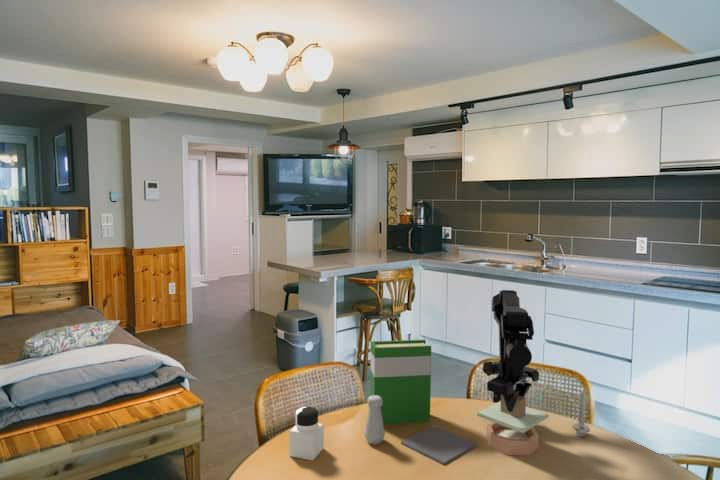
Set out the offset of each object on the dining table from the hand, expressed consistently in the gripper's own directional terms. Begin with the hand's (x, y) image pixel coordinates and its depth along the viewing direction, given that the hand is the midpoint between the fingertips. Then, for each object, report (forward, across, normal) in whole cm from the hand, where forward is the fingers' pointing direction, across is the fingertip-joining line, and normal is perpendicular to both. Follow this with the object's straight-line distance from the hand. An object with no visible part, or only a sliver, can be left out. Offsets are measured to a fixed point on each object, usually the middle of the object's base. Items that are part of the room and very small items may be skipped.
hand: (512, 409), depth 137 cm
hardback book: (+10, +12, -32) cm, 36 cm away
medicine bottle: (+10, +46, -35) cm, 59 cm away
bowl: (+10, 0, 0) cm, 10 cm away
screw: (+10, -20, +11) cm, 25 cm away
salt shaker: (+10, +28, -27) cm, 40 cm away
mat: (+10, +16, -14) cm, 23 cm away
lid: (+2, 0, 0) cm, 2 cm away
